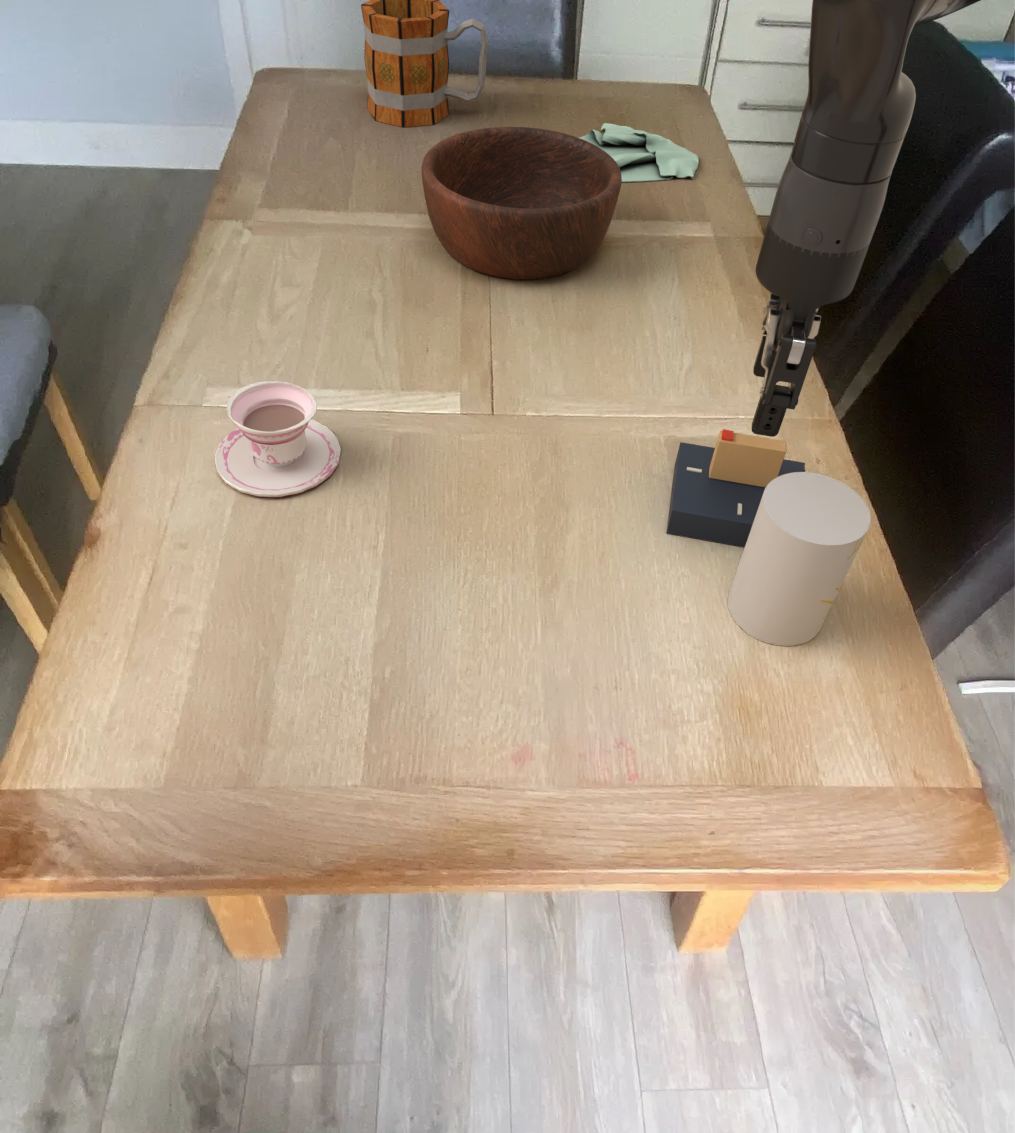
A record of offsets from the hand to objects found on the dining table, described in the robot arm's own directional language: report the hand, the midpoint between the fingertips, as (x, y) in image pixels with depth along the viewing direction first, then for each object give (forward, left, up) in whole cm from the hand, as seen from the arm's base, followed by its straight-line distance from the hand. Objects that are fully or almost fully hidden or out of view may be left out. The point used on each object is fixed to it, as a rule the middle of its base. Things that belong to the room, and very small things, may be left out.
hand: (764, 402), depth 78 cm
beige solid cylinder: (-4, +13, -12) cm, 18 cm away
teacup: (+44, +5, -12) cm, 46 cm away
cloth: (+19, -77, -12) cm, 80 cm away
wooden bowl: (+30, -44, -12) cm, 55 cm away
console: (0, +1, -12) cm, 12 cm away
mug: (+53, -83, -12) cm, 99 cm away
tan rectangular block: (0, 0, -9) cm, 9 cm away
